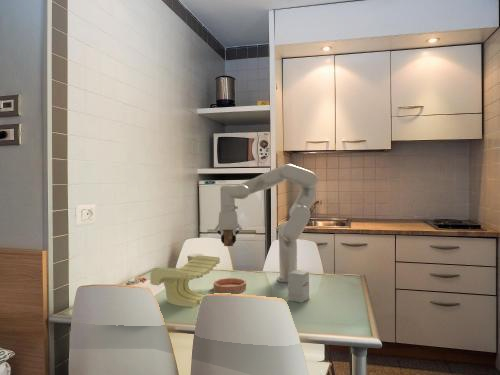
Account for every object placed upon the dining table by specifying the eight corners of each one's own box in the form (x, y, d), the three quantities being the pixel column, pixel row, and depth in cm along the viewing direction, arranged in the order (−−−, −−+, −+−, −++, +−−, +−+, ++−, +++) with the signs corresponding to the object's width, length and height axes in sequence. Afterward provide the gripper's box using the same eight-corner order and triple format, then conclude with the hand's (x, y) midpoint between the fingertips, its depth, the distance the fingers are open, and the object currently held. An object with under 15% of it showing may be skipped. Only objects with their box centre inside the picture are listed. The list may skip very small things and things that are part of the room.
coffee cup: (201, 278, 223) (200, 256, 223) (185, 277, 225) (184, 256, 225) (206, 274, 233) (206, 253, 232) (191, 273, 234) (190, 253, 234)
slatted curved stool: (193, 290, 201) (193, 254, 200) (220, 294, 193) (219, 257, 192) (151, 307, 175) (150, 267, 174) (179, 313, 167) (178, 270, 166)
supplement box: (303, 303, 177) (302, 274, 177) (288, 300, 181) (287, 272, 181) (309, 298, 184) (309, 271, 183) (295, 296, 188) (294, 269, 187)
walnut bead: (233, 244, 215) (233, 229, 215) (232, 246, 210) (232, 231, 210) (224, 244, 215) (224, 229, 215) (223, 246, 210) (223, 231, 210)
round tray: (246, 284, 209) (246, 278, 208) (245, 293, 193) (245, 286, 193) (216, 284, 209) (216, 278, 209) (212, 294, 193) (211, 286, 193)
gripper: (244, 207, 215) (245, 241, 216) (213, 208, 216) (213, 242, 217) (243, 209, 208) (244, 244, 208) (210, 209, 209) (211, 244, 209)
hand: (228, 242), depth 213 cm, fingers closed on walnut bead, 4 cm apart
